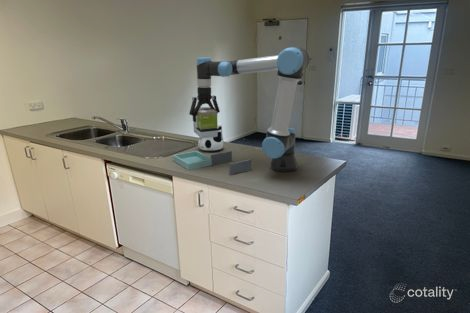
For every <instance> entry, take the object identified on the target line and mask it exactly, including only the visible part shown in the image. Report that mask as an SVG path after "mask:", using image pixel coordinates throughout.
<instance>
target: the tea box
mask: <svg viewBox="0 0 470 313" xmlns="http://www.w3.org/2000/svg"><path fill="white" fill-rule="evenodd" d="M196 116H198V128H196V127H194V126H193V133H195V134H196V135H197V136H199V137H201V138H210V137H217V136H218V130H217V122H218V114H217V111H215V110H213V109H211V108H210V107H209V106H204V107H202V106H201V107H200V109H199V111H198V112H197V115H196ZM192 122H193V121H192ZM193 124H194V122H193ZM199 137H198V138H199Z"/></svg>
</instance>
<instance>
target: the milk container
mask: <svg viewBox="0 0 470 313" xmlns="http://www.w3.org/2000/svg"><path fill="white" fill-rule="evenodd" d="M217 130H218V136H217V137H210V138H201V137H198V143H197V145H198V147H199V149H200V150H201V151H203V152H210V153H211V152H219V151H221V150H222V149H224V145H225V141H224V140H225V139H224V136H223V123H222V122H221V121H217Z"/></svg>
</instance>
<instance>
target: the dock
mask: <svg viewBox="0 0 470 313" xmlns="http://www.w3.org/2000/svg"><path fill="white" fill-rule="evenodd" d="M210 158H211V159H212V165H211V166H215V165H218V164H219V165H220V164H223V163H227V162H231V163H229V164H228V165H229V166H228V175H229V176H233V175H237V174H241V173H244V172H248V171H252V170H253V169H252V166H253V165H252V159H251V158H249V159H245V160H240V161H236V162H232V161H233V152H232V150H229V151H224V152H219V153H213V154H212V153H211V154H210Z"/></svg>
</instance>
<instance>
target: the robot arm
mask: <svg viewBox="0 0 470 313" xmlns="http://www.w3.org/2000/svg"><path fill="white" fill-rule="evenodd" d="M310 60H311V59H310V55H309V52H308V51H307V50H306V49H304V48H302V47H294V46H293V47H292V46H290V47H286V48H284V49H283V50H281V51H280V52H279V53H278V54H277V55H268V56H258V57H252V58H251V57H250V58H246V59H236V60H228V61H227V60H226V61H225V60H224V61H212V58H211V57H210V56H209V57H205V56H202V57H199V56H198V57H197V59H196V78H197V80H196V83H197V84H196V85H197V89H196V90H197V91H196V92H197V96H192V97H191V98H192V102H191V106H190V109H189V113H188V114H189V115H190V116H192V122H194V123H193V128H194V127H196V128H198V116H196V115H197V112H198V111H199V109H200V107H202V106H203V105H205V104H206V105H207V106H208V107H210V108H211V109H213V110H215V111H217V115H218V114H219V113H220V107H219V104H218V101H217V96H216V95H212V77H222V78H224V77H230V76H235V75H243V74H245V75H246V74H252V73H253V74H254V73H264V72H273V71H277V74H276V76H277V78H278V79H279V81H278V86H277V92H276V96H275V103H274V108H273V114H272V118H271V124H270V126H269V127H268V129H267V130H266V135H265V136H266V137H265V138H264V139H263V140H262V144H261V149H262V152H263V153H264V155H265V156H267V157H268V158H270V159H271V161H270V164H269V169H271V170H273V171H276V172H282V173H285V172H286V173H289V172H293V171H296V170H297V169H298V163H297V159H296V155H295V152H296V151H295V148H296V129H295V128H294V127H293V128H292V127H290V126H289V125H290V122H291V121H290V120H291V115H292V111H293V106H294V100H295V96H296V90H297V86H298V83H299V82H300V81H301V80H302V77H303V73H304V71H306V69H307V68H308V67H309V64H310Z"/></svg>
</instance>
